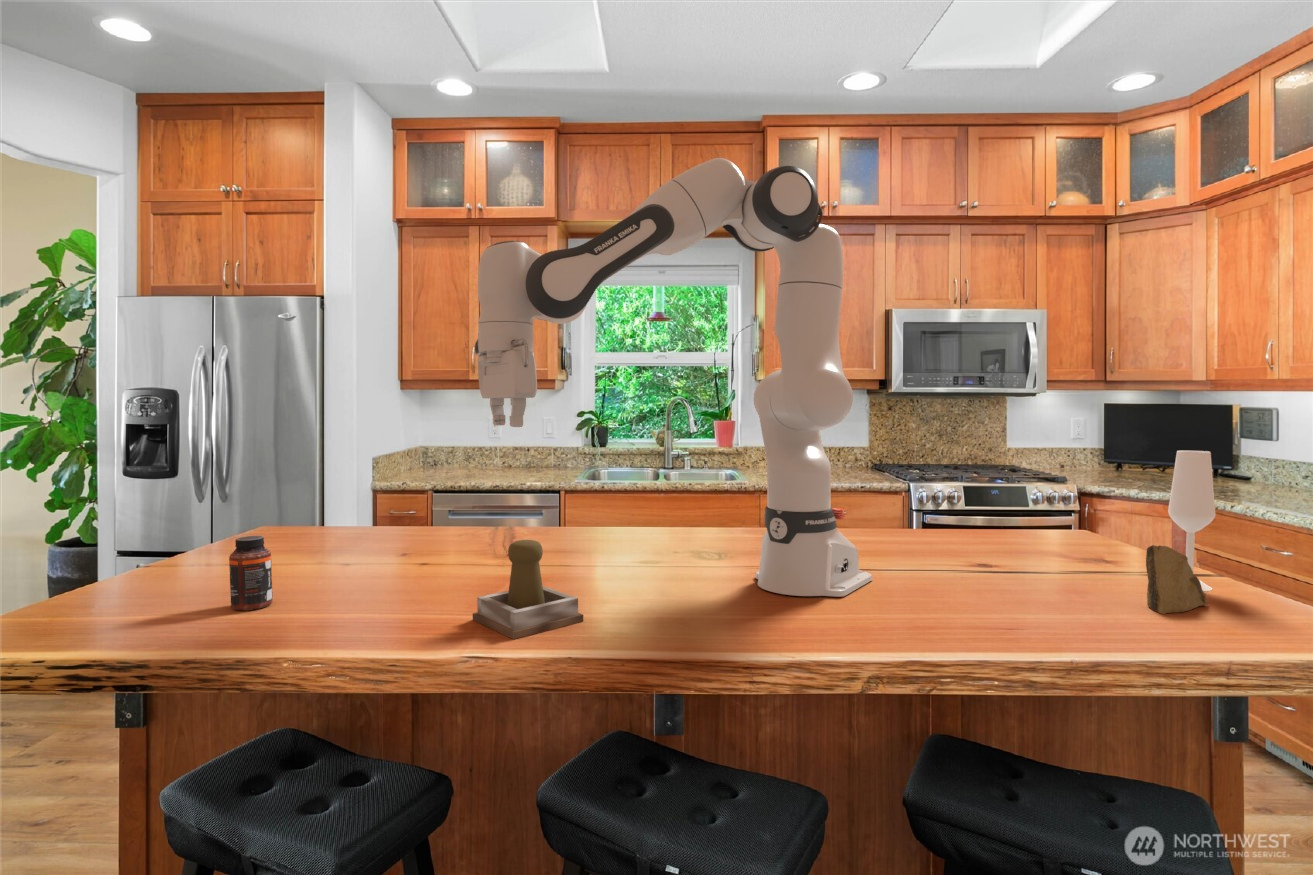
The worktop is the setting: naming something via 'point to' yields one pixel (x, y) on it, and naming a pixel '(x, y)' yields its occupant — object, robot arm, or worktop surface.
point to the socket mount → (527, 614)
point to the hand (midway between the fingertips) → (507, 426)
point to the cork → (525, 574)
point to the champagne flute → (1192, 497)
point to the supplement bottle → (250, 574)
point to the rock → (1171, 582)
